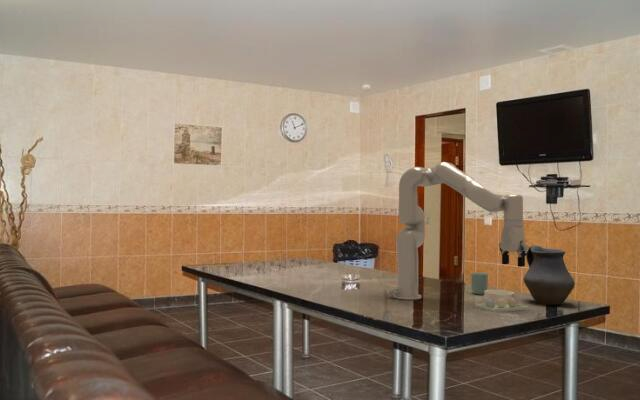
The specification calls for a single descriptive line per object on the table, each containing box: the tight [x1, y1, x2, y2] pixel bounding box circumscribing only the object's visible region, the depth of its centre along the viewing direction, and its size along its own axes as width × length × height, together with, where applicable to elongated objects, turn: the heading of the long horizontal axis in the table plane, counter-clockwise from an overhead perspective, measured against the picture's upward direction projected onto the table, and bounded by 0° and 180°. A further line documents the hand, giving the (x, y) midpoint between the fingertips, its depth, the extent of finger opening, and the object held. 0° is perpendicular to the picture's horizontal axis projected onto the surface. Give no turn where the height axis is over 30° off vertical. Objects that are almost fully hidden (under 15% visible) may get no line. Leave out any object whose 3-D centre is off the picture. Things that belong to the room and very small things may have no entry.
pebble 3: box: [507, 298, 519, 307], centre depth 223 cm, size 4×4×4 cm
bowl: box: [483, 289, 516, 303], centre depth 236 cm, size 12×12×4 cm
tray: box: [474, 302, 530, 313], centre depth 221 cm, size 17×12×2 cm
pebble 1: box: [484, 299, 495, 308], centre depth 219 cm, size 4×4×4 cm
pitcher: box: [522, 244, 576, 306], centre depth 235 cm, size 21×22×25 cm
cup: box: [470, 271, 489, 296], centre depth 258 cm, size 8×8×10 cm
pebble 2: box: [496, 298, 507, 308], centre depth 221 cm, size 4×4×4 cm
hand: (513, 265), depth 223 cm, fingers open, 9 cm apart
